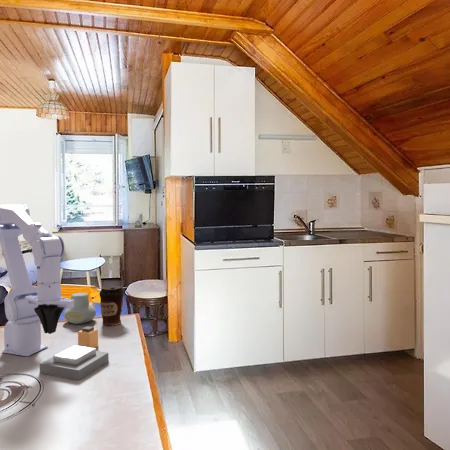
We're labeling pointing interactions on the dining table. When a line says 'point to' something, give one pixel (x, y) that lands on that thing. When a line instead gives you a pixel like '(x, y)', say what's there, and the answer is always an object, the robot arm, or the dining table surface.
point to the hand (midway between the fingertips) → (50, 332)
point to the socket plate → (74, 367)
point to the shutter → (74, 355)
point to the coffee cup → (111, 304)
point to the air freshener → (80, 309)
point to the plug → (88, 337)
